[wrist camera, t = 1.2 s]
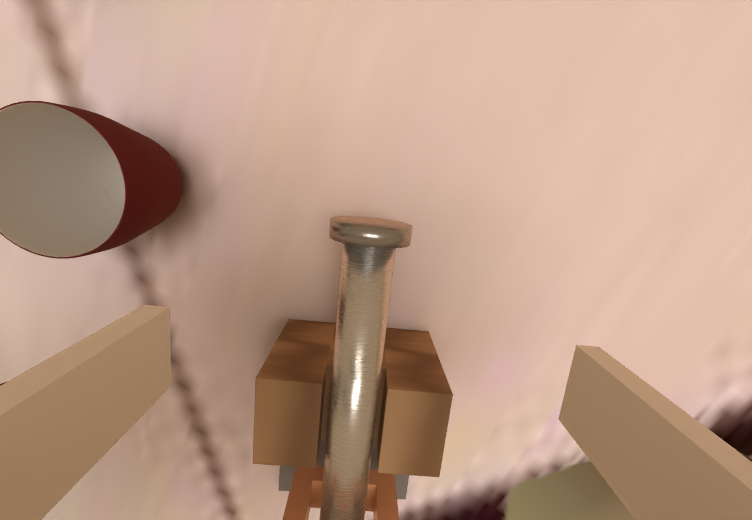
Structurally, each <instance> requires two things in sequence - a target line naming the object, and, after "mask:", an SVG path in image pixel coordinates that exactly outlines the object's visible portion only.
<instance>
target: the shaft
mask: <svg viewBox="0 0 752 520" xmlns="http://www.w3.org/2000/svg"><path fill="white" fill-rule="evenodd" d="M411 234H412V226H411V225H409V224H406V223H402V222H397V221H392V220H385V219H378V218H368V217H354V216H338V217H332V218H331V221H330V234H329V237H330V238H331V239H333V240H336V241H339V242H342V243H343V250H342V262H341V273H340V285H339V297H338V309H337V321H336V333H335V344H334V356H333V368H332V380H331V392H330V403H329V415H328V427H327V439H326V451H325V462H324V474H323V486H322V498H321V510H320V520H364V515H365V507H366V498H367V489H368V481H369V472H370V464H371V455H372V446H373V438H374V429H375V420H376V412H377V403H378V395H379V386H380V377H381V369H382V360H383V351H384V343H385V334H386V326H387V317H388V308H389V300H390V291H391V282H392V274H393V265H394V257H395V248H402V247H407V246H409V245H410V242H411Z"/></svg>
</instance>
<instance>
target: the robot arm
mask: <svg viewBox="0 0 752 520" xmlns="http://www.w3.org/2000/svg"><path fill="white" fill-rule="evenodd" d="M170 386H171V349H170V307H163V306H153V305H144V306H142V307H140V308H139V309H137V310H135V311H133V312H131V313H130V314H128V315H126V316H124V317H122V318H121V319H119V320H117V321H115V322H114V323H112V324H110V325H108V326H106V327H105V328H103V329H101V330H99V331H97V332H96V333H94V334H92V335H90V336H89V337H87V338H85V339H83V340H81V341H80V342H78V343H76V344H74V345H72V346H71V347H69V348H67V349H65V350H64V351H62V352H60V353H58V354H56V355H55V356H53V357H51V358H49V359H47V360H46V361H44V362H42V363H40V364H39V365H37V366H35V367H33V368H31V369H30V370H28V371H26V372H24V373H23V374H21V375H19V376H17V377H15V378H14V379H12V380H10V381H8V382H5V383H2V384H0V520H41V519H42V518H43V517H44V516H45V515H46V514H47V513H48V512H49V511H50V510H51V509H52V508H53V507H54V506H55V505H56V504H57V503H58V502H59V501H60V500H61V499H62V498H63V497H64V496H65V494H66V493H67V492H68V491H69V490H70V489H71V488H72V487H73V486H74V485H75V484H76V483H77V482H78V481H79V480H80V479H81V478H82V477H83V476H84V475H85V474H86V473H87V472H88V471H89V470H90V469H91V468H92V467H93V466H94V465H95V464H96V463H97V461H98V460H99V459H100V458H101V457H102V456H103V455H104V454H105V453H106V452H107V451H108V450H109V449H110V448H111V447H112V446H113V445H114V444H115V443H116V442H117V441H118V440H119V439H120V438H121V437H122V436H123V435H124V434H125V433H126V432H127V431H128V429H129V428H130V427H131V426H132V425H133V424H134V423H135V422H136V421H137V420H138V419H139V418H140V417H141V416H142V415H143V414H144V413H145V412H146V411H147V410H148V409H149V408H150V407H151V406H152V405H153V404H154V403H155V402H156V401H157V400H158V399H159V397H160V396H161V395H162V394H163V393H164V392H165V391H166V390H167V389H168V388H169V387H170ZM559 420H560V422H561V423H562V424H563V426H564V427H565V428H566V429H567V431H568V432H569V433H570V435H571V436H572V437H573V439H574V440H575V441H576V443H577V444H578V445H579V446H580V448H581V449H582V450H583V452H584V453H585V454H586V456H587V457H588V458H589V460H590V461H591V462H592V463H593V465H594V466H595V467H596V469H597V470H598V471H599V473H600V474H601V475H602V476H603V478H604V479H605V480H606V482H607V483H608V484H609V486H610V487H611V488H612V490H613V491H614V492H615V493H616V495H617V496H618V497H619V499H620V500H621V501H622V502H623V504H624V505H625V506H626V508H627V509H628V510H629V512H630V513H631V514H632V516H633V517H634V518H635V520H752V459H750V458H749V457H748V456H746V455H745V454H743V453H741V452H739V451H737V450H736V449H734V448H732V447H731V446H730V445H729V444H727V443H726V442H725V441H723V440H722V439H721V438H719V437H718V436H717V435H715V434H714V433H713V432H711V431H710V430H709V429H707V428H706V427H705V426H703V425H702V424H701V423H699V422H698V421H697V420H695V419H694V418H693V417H691V416H690V415H689V414H687V413H686V412H685V411H683V410H682V409H681V408H679V407H678V406H677V405H675V404H674V403H673V402H671V401H670V400H669V399H667V398H666V397H665V396H663V395H662V394H661V393H659V392H658V391H657V390H655V389H654V388H653V387H651V386H650V385H649V384H647V383H646V382H645V381H643V380H642V379H641V378H639V377H638V376H637V375H635V374H634V373H633V372H632V371H630V370H629V369H628V368H626V367H625V366H624V365H622V364H621V363H620V362H618V361H617V360H616V359H614V358H613V357H612V356H610V355H609V354H608V353H606V352H605V351H604V350H602V349H601V348H600V347H592V346H582V345H576V348H575V352H574V356H573V361H572V365H571V369H570V373H569V377H568V382H567V386H566V390H565V394H564V398H563V403H562V407H561V411H560V415H559Z"/></svg>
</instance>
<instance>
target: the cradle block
mask: <svg viewBox="0 0 752 520" xmlns="http://www.w3.org/2000/svg"><path fill="white" fill-rule="evenodd" d="M335 333H336V323H325V322H314V321H303V320H291V319H289V320H288V322H287V324H286V326H285V327H284V329H283V331H282V333H281V334H280V336H279V338H278V340H277V342H276V343H275V345H274V347H273V349H272V350H271V352H270V354H269V356H268V358H267V359H266V361H265V363H264V365H263V366H262V368H261V370H260V372H259V374H258V375H257V377H256V388H255V415H254V443H253V464H266V465H280V466H294V467H307V468H316V464H317V458H318V453H319V448H320V442H321V441H326V439H327V427H328V415H329V403H330V392H331V380H332V368H333V356H334V344H335ZM452 396H453V394H452V391H451V389H450V386H449V384H448V381H447V378H446V376H445V373H444V371H443V368H442V366H441V363H440V360H439V358H438V355H437V353H436V350H435V347H434V345H433V342H432V340H431V337H430V334H429V332H427V331H415V330H404V329H393V328H386V334H385V343H384V351H383V360H382V369H381V377H380V386H379V395H378V403H377V412H376V420H375V429H374V438H373V445H377V461H378V473H390V474H404V475H417V476H431V477H439V475H440V469H441V463H442V457H443V451H444V444H445V438H446V432H447V426H448V420H449V414H450V408H451V402H452Z"/></svg>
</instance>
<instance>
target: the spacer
mask: <svg viewBox="0 0 752 520" xmlns="http://www.w3.org/2000/svg"><path fill="white" fill-rule="evenodd" d="M323 474H324V466H316V468H307V467H296V468H295V472H294V476H293V480H292V484H291V488H290V492H289V496H288V500H287V504H286V508H285V512H284V516H283V520H308V517H309V511H310V507H315V508H321V498H322V486H323ZM365 511H373V515H374V520H399V517H398V505H397V494H396V483H395V474H390V473H378V470H370V472H369V481H368V489H367V498H366V507H365Z"/></svg>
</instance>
